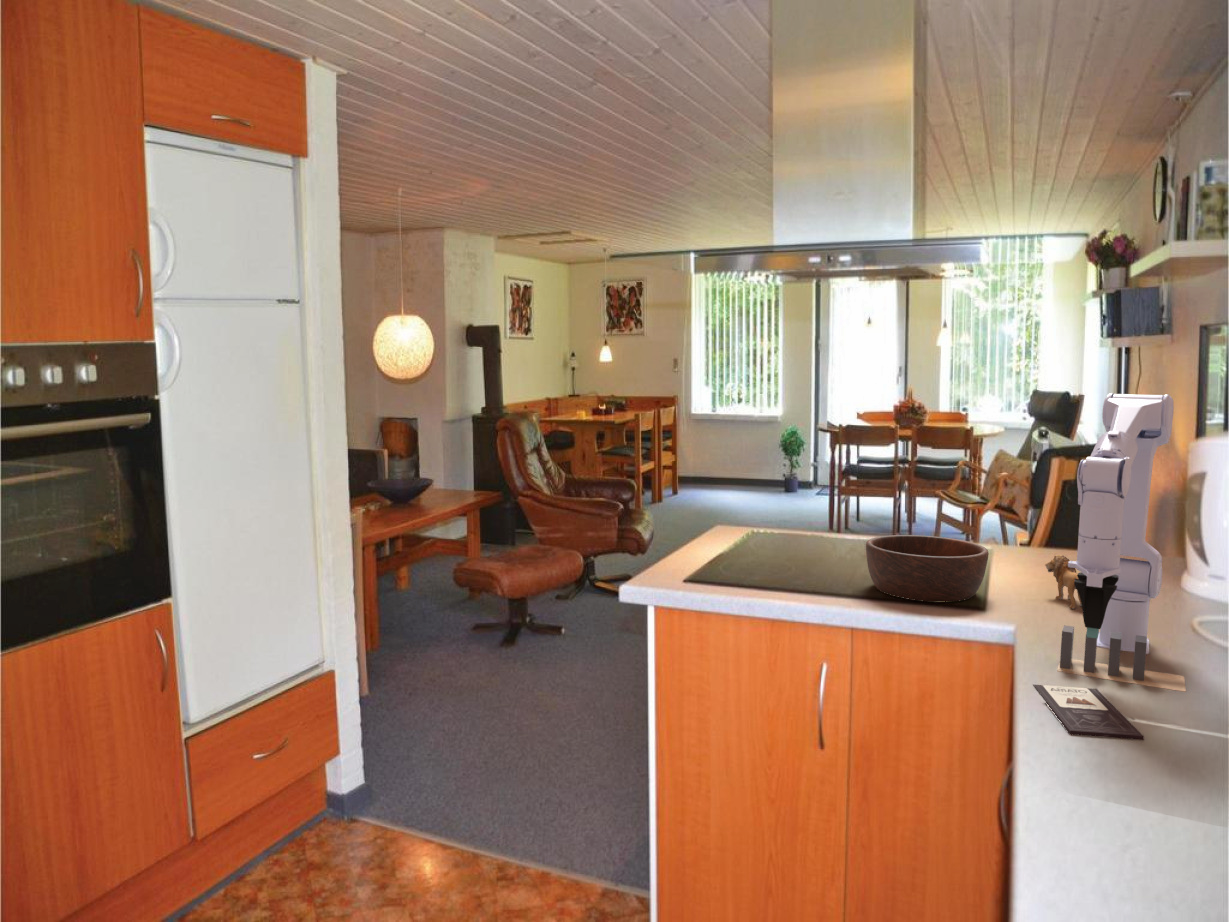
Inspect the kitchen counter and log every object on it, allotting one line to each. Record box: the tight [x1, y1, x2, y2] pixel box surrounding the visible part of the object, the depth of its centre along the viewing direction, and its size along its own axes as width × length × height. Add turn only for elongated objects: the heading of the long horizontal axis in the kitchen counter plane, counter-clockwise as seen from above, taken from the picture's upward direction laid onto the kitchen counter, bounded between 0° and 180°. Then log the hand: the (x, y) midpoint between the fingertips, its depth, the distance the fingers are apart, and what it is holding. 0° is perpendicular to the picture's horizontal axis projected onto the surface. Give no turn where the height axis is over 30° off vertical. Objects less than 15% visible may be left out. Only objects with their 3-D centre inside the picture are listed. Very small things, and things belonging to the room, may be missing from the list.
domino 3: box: [1083, 631, 1098, 673], centre depth 146 cm, size 2×4×6 cm, turn 150°
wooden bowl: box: [865, 534, 990, 603], centre depth 197 cm, size 25×25×10 cm
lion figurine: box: [1044, 554, 1082, 610], centre depth 189 cm, size 15×5×9 cm, turn 0°
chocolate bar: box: [1032, 684, 1145, 741], centre depth 129 cm, size 9×1×18 cm
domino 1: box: [1059, 625, 1075, 669], centre depth 148 cm, size 2×4×6 cm, turn 150°
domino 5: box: [1132, 635, 1148, 681], centre depth 143 cm, size 2×4×6 cm, turn 150°
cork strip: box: [1056, 658, 1187, 693], centre depth 144 cm, size 8×17×1 cm, turn 60°
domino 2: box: [1085, 627, 1100, 639], centre depth 140 cm, size 2×4×6 cm, turn 149°
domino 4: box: [1108, 632, 1122, 677], centre depth 144 cm, size 2×4×6 cm, turn 150°
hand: (1093, 624), depth 140 cm, fingers closed on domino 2, 4 cm apart
